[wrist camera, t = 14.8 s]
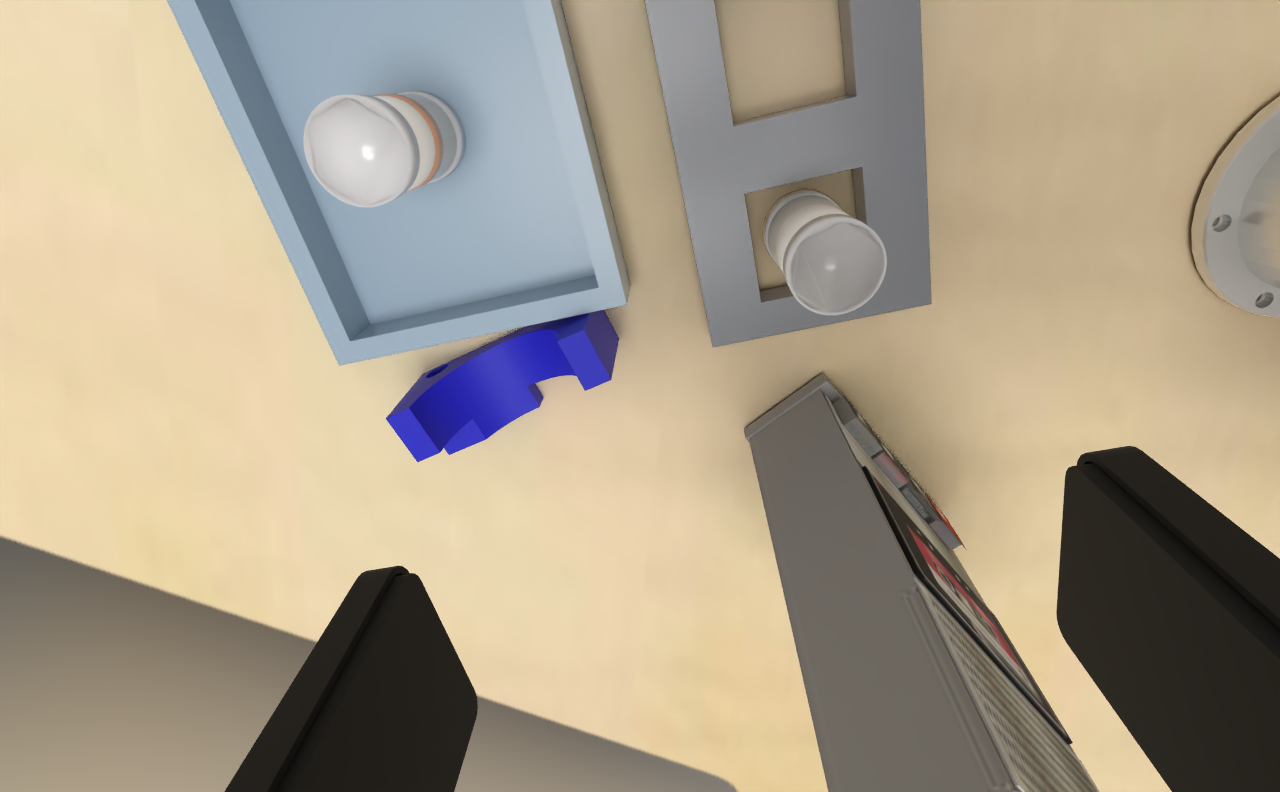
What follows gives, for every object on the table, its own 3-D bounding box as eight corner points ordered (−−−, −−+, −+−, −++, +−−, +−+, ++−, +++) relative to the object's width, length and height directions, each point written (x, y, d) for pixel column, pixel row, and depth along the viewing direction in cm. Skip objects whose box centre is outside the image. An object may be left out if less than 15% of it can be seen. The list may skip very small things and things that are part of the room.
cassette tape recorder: (945, 513, 43) (1253, 994, 20) (866, 559, 45) (1067, 1045, 22) (825, 368, 38) (1045, 773, 16) (743, 426, 40) (837, 860, 18)
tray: (523, -150, 28) (506, -179, 25) (630, 285, 37) (626, 304, 33) (193, -46, 30) (138, -60, 27) (365, 342, 39) (339, 365, 36)
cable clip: (463, 430, 42) (432, 482, 36) (423, 372, 40) (385, 418, 34) (630, 358, 39) (624, 403, 33) (595, 293, 37) (583, 329, 32)
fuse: (837, 181, 34) (883, 209, 27) (844, 258, 35) (889, 304, 28) (757, 199, 34) (781, 231, 27) (768, 275, 36) (793, 323, 29)
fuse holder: (885, -401, 24) (903, -440, 23) (918, 292, 36) (931, 303, 34) (586, -298, 26) (580, -326, 24) (710, 334, 38) (712, 347, 36)
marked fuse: (448, 81, 32) (384, 82, 24) (477, 169, 33) (425, 194, 26) (370, 103, 32) (284, 109, 25) (402, 188, 34) (331, 217, 27)
